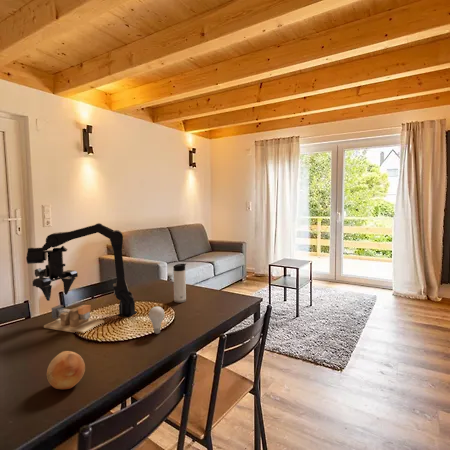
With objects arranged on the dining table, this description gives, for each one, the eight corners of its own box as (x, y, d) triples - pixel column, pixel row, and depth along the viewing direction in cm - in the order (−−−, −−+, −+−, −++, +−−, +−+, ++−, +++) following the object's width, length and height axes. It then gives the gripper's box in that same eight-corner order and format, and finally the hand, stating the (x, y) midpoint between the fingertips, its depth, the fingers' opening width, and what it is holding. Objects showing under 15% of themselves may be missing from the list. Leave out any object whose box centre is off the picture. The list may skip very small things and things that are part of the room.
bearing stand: (104, 322, 135) (103, 305, 135) (83, 333, 124) (82, 314, 123) (66, 317, 142) (65, 300, 141) (43, 327, 131) (42, 309, 130)
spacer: (90, 311, 132) (90, 305, 132) (83, 314, 128) (82, 308, 128) (86, 310, 133) (85, 304, 133) (78, 313, 129) (78, 308, 129)
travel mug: (184, 303, 161) (183, 265, 159) (172, 302, 162) (171, 264, 160) (188, 299, 167) (187, 262, 165) (176, 298, 168) (175, 262, 166)
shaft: (91, 319, 132) (90, 308, 132) (84, 322, 128) (83, 312, 128) (59, 314, 138) (59, 305, 137) (52, 318, 134) (51, 307, 134)
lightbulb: (167, 331, 125) (167, 305, 124) (159, 337, 119) (159, 310, 119) (154, 329, 127) (153, 303, 126) (146, 335, 121) (145, 308, 121)
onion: (38, 392, 85) (36, 358, 85) (68, 374, 95) (67, 342, 94) (65, 400, 82) (63, 364, 81) (93, 380, 91) (91, 347, 91)
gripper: (59, 257, 145) (60, 290, 146) (21, 265, 128) (23, 302, 129) (77, 258, 142) (79, 292, 143) (41, 266, 124) (44, 304, 125)
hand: (57, 297), depth 135 cm, fingers open, 9 cm apart
